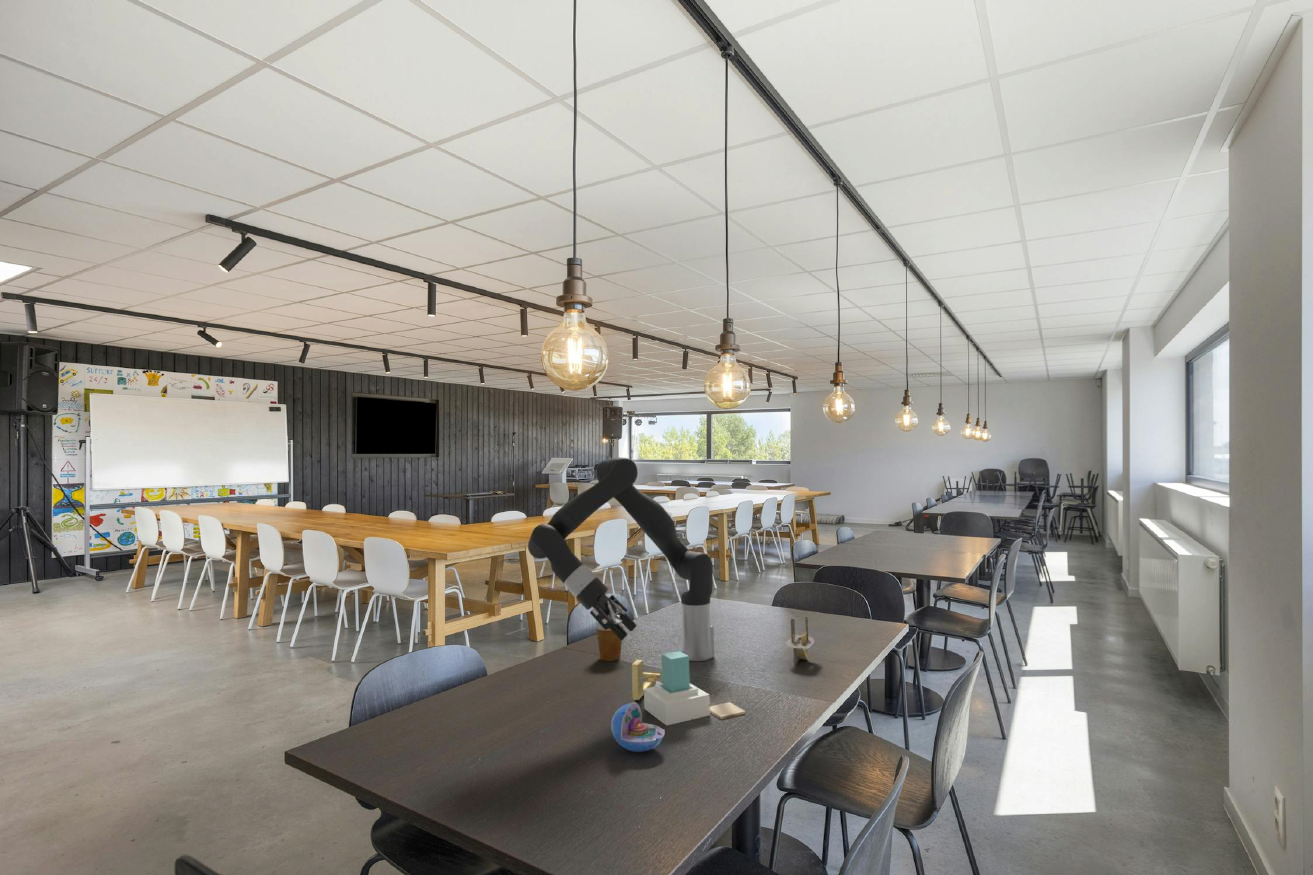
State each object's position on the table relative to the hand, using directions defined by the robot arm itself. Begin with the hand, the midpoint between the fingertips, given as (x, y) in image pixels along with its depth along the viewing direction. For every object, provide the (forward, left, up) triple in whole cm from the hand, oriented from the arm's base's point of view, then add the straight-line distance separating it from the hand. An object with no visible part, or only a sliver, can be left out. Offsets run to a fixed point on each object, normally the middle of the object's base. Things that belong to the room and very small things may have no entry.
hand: (629, 632), depth 164 cm
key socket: (-12, -12, -19) cm, 26 cm away
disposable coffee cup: (-12, -42, -19) cm, 48 cm away
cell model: (+8, +22, -19) cm, 30 cm away
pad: (-19, +14, -19) cm, 30 cm away
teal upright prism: (-9, +8, -14) cm, 18 cm away
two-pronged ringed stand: (-60, -8, -20) cm, 64 cm away
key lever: (-8, -8, -18) cm, 22 cm away
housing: (-9, +8, -19) cm, 22 cm away
